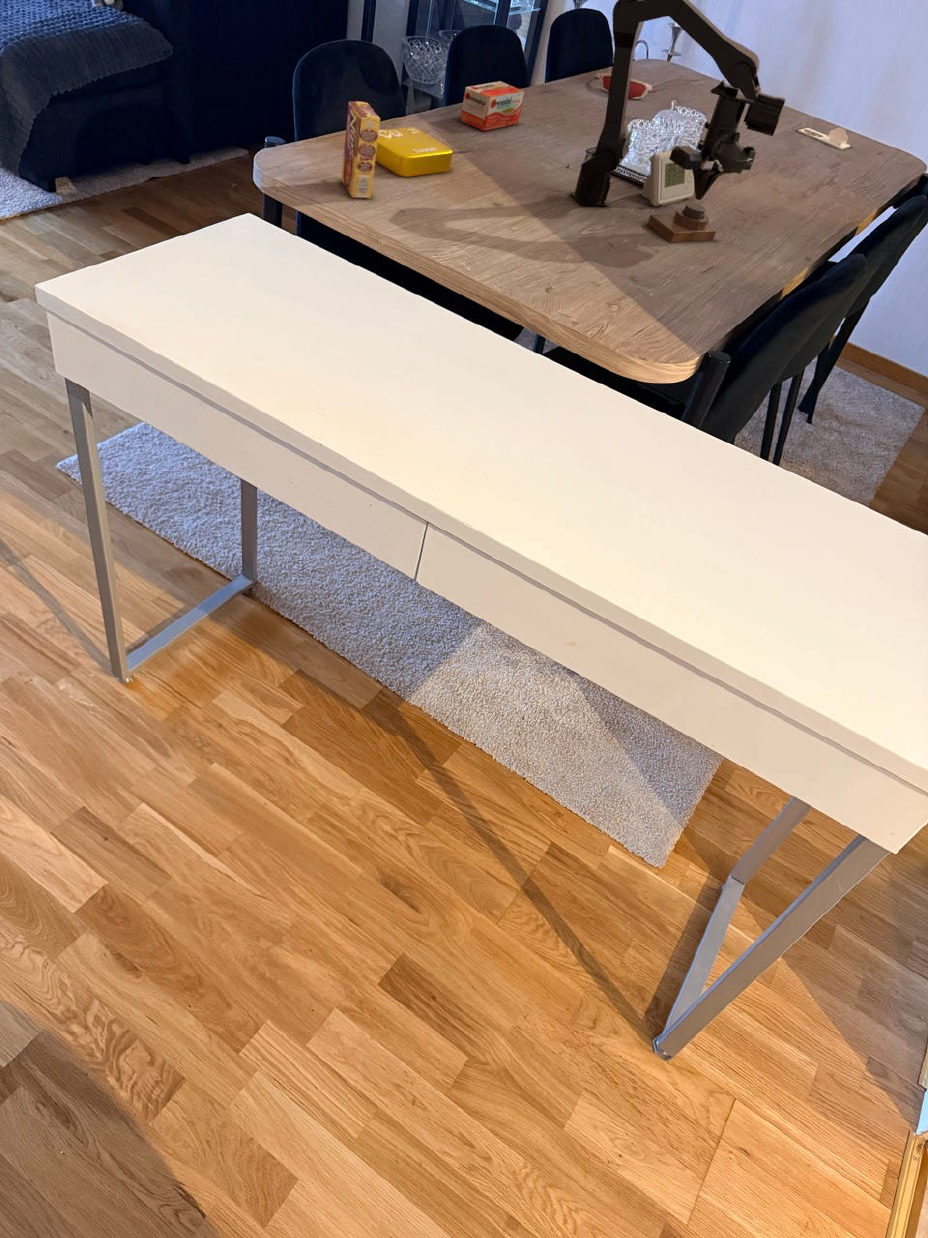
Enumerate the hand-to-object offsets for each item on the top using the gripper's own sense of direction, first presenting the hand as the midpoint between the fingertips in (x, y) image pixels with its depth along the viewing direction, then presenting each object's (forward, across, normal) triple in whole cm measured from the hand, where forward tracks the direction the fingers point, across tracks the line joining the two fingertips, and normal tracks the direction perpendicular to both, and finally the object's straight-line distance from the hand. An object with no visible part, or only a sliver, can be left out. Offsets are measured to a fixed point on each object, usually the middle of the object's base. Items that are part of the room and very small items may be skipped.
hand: (698, 199), depth 199 cm
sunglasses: (+8, +48, +95) cm, 107 cm away
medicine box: (+8, -16, +64) cm, 67 cm away
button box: (+7, -2, 0) cm, 7 cm away
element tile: (+8, -51, +39) cm, 65 cm away
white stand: (+7, +99, +57) cm, 115 cm away
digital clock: (+7, +6, +17) cm, 20 cm away
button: (+4, 0, 0) cm, 4 cm away
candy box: (+8, -69, +25) cm, 74 cm away
